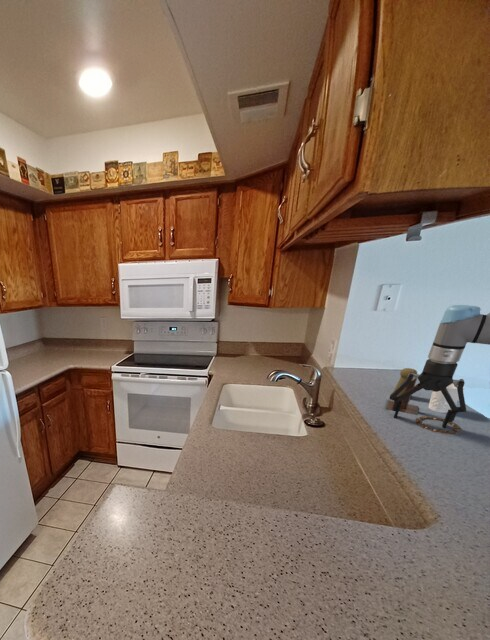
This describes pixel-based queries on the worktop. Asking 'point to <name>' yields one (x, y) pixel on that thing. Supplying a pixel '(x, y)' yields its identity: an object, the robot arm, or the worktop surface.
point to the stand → (406, 402)
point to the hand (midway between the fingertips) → (417, 424)
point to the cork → (404, 378)
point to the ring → (456, 429)
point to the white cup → (443, 399)
